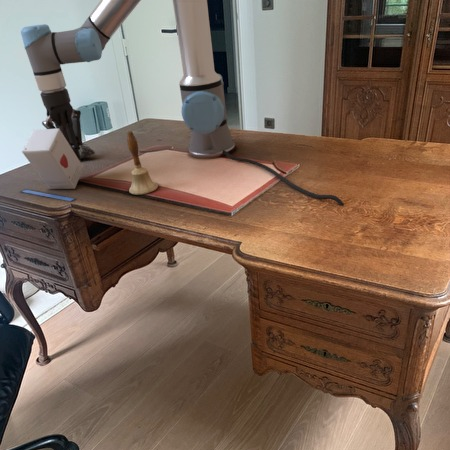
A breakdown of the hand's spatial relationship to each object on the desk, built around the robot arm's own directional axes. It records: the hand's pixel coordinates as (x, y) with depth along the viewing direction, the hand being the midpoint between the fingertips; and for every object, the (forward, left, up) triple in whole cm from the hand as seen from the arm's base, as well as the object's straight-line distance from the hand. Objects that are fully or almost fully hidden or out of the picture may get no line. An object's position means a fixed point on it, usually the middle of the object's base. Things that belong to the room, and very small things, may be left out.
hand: (78, 171), depth 137 cm
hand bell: (-26, -5, -2) cm, 27 cm away
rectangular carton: (-2, +5, -1) cm, 5 cm away
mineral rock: (+19, -8, -2) cm, 20 cm away
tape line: (-4, +13, -2) cm, 14 cm away
